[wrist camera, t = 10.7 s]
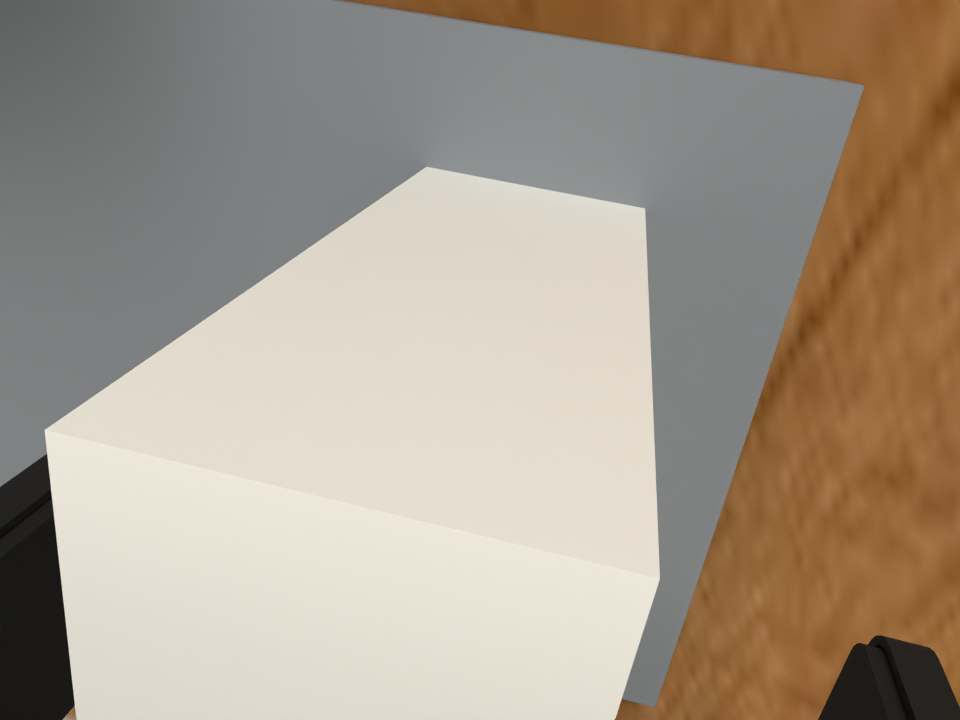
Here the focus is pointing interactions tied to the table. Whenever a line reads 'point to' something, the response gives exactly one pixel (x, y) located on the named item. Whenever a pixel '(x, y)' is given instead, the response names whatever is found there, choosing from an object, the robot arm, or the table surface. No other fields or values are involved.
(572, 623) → the slab
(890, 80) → the table surface
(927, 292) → the table surface
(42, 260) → the board
